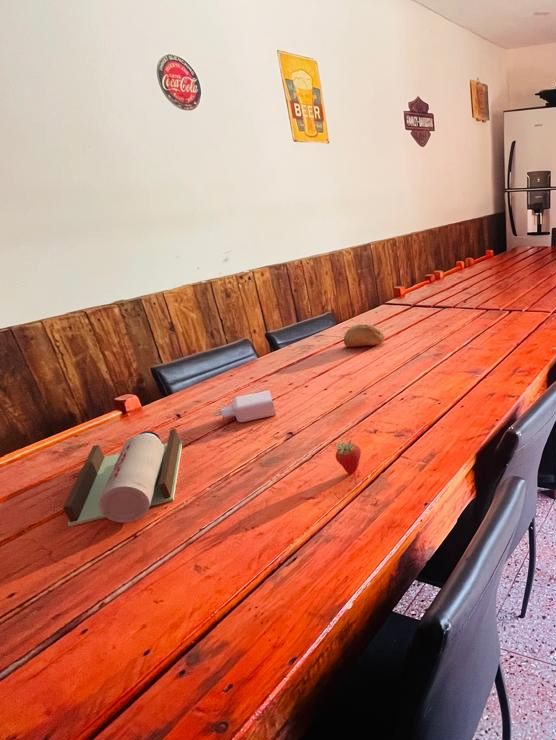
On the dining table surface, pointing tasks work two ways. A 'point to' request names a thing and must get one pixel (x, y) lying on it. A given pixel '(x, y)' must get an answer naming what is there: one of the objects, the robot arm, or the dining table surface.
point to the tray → (96, 475)
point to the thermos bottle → (133, 479)
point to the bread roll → (363, 335)
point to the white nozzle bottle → (249, 407)
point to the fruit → (348, 456)
